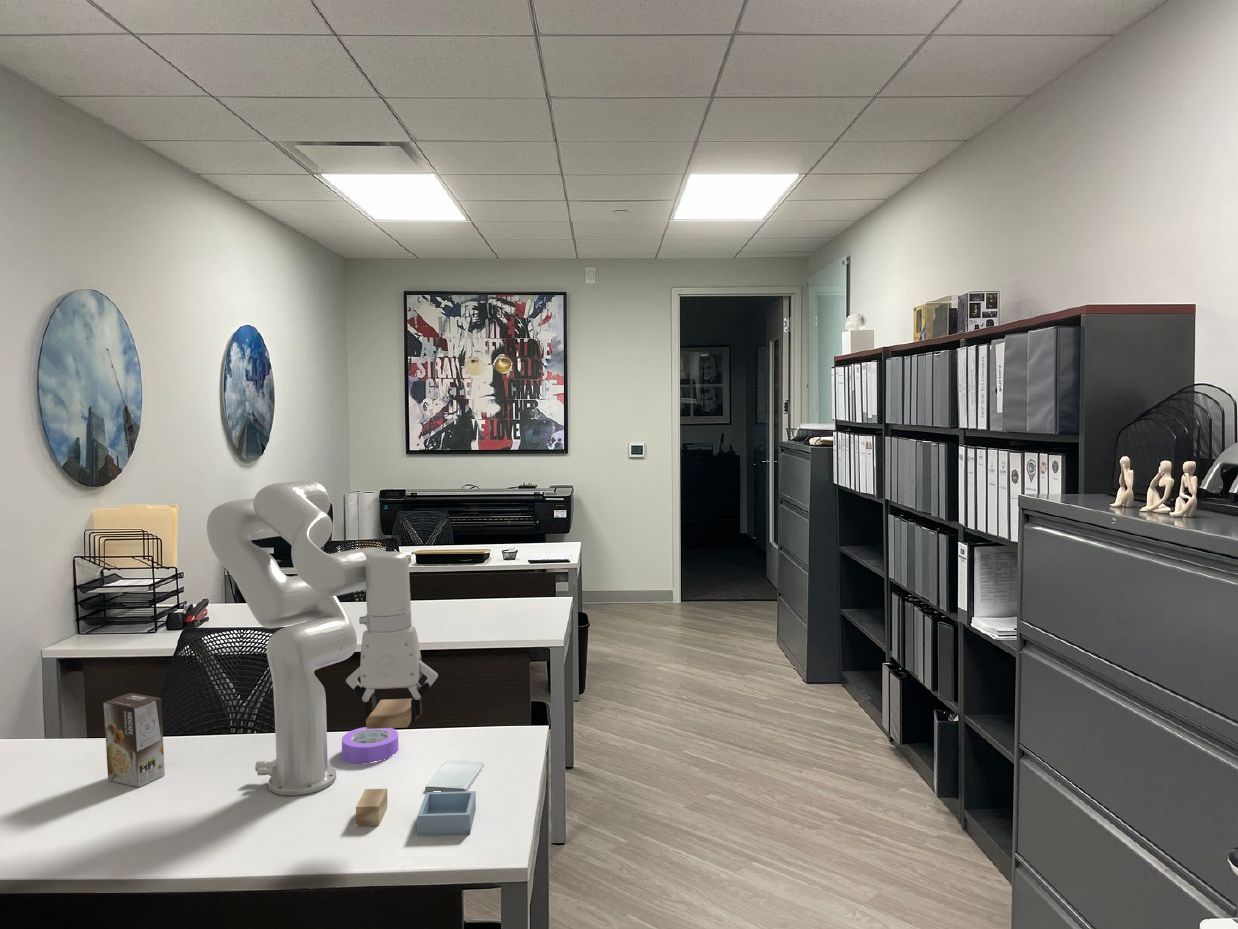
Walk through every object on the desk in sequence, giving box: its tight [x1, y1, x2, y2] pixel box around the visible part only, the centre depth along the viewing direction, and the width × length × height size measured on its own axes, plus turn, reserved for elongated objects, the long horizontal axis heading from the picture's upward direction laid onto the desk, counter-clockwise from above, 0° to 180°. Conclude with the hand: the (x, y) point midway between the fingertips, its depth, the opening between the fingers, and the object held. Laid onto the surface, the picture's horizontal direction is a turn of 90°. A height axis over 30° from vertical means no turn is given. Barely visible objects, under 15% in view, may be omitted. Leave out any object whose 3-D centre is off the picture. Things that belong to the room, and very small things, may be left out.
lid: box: [365, 698, 412, 729], centre depth 154 cm, size 7×10×2 cm, turn 2°
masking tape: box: [341, 726, 399, 765], centre depth 185 cm, size 12×12×4 cm
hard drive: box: [424, 760, 485, 792], centre depth 172 cm, size 2×8×12 cm
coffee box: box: [103, 692, 166, 788], centre depth 172 cm, size 9×6×16 cm
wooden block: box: [355, 788, 388, 827], centre depth 156 cm, size 4×7×4 cm, turn 3°
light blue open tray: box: [416, 790, 477, 836], centre depth 154 cm, size 9×9×4 cm
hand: (394, 719), depth 154 cm, fingers closed on lid, 7 cm apart
